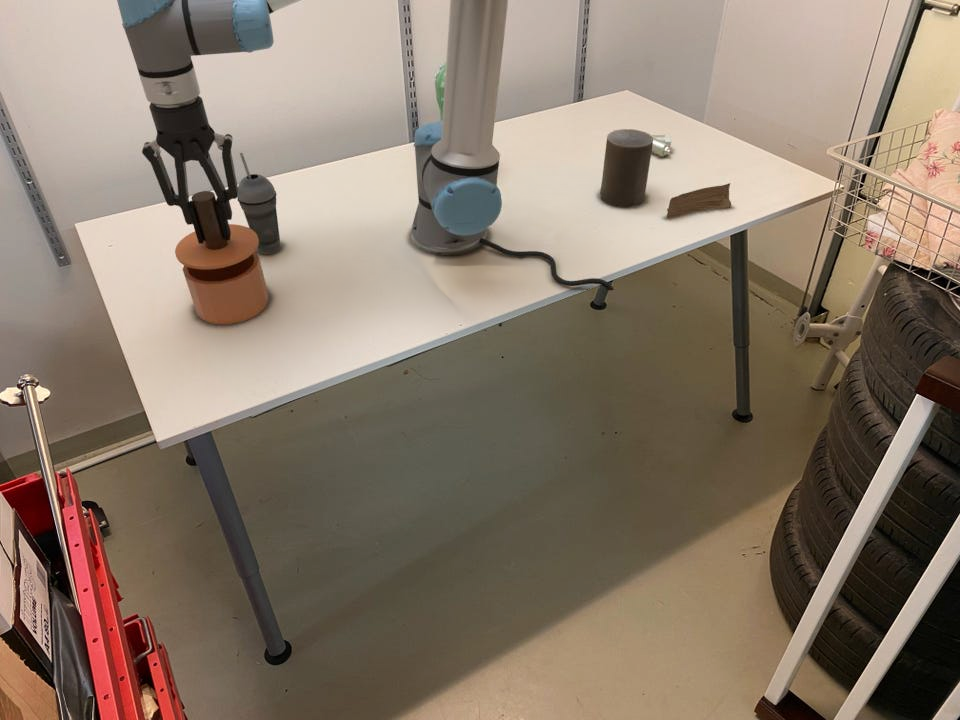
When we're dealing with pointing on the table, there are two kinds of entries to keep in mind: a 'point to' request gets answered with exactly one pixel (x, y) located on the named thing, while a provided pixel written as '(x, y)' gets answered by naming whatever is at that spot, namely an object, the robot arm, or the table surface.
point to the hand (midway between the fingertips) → (215, 237)
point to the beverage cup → (260, 209)
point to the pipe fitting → (661, 144)
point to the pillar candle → (626, 167)
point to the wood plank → (700, 200)
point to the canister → (228, 291)
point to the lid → (214, 239)
